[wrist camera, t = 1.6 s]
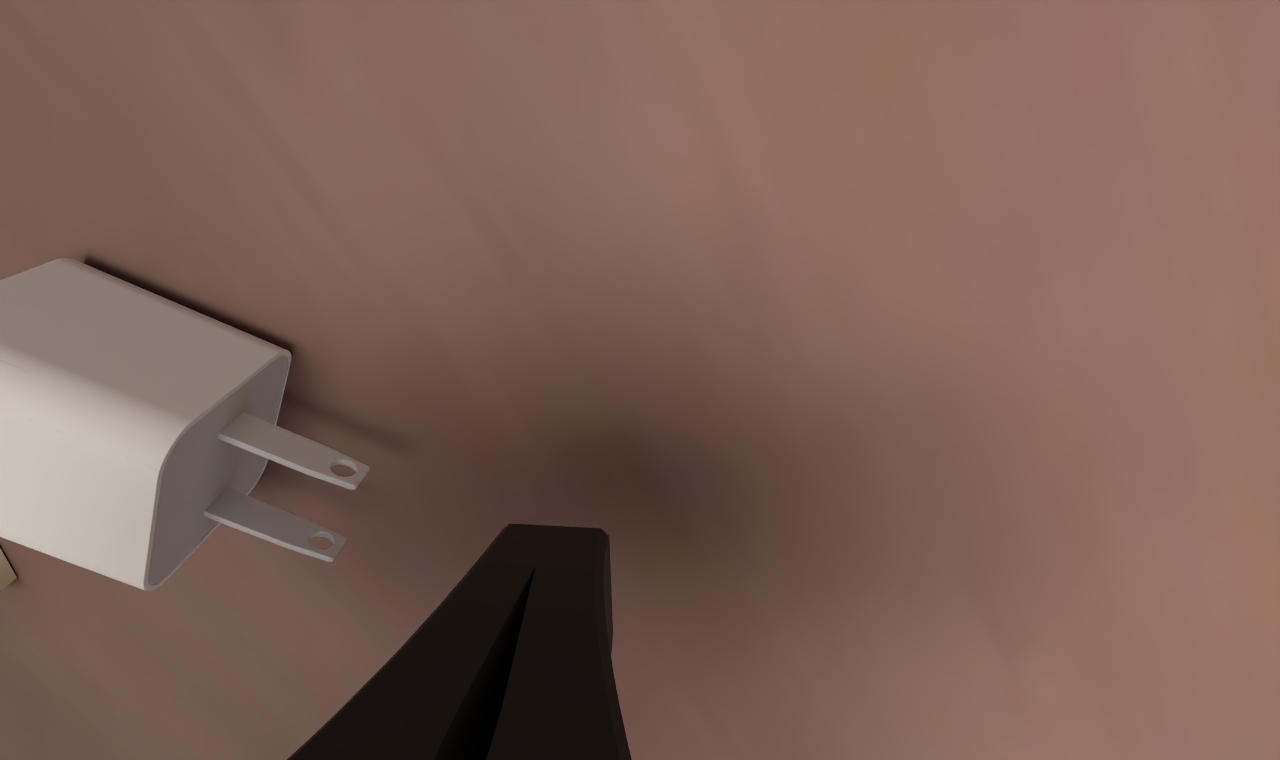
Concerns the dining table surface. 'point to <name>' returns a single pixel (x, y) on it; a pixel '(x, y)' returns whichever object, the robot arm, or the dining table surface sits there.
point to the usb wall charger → (140, 427)
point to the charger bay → (5, 572)
